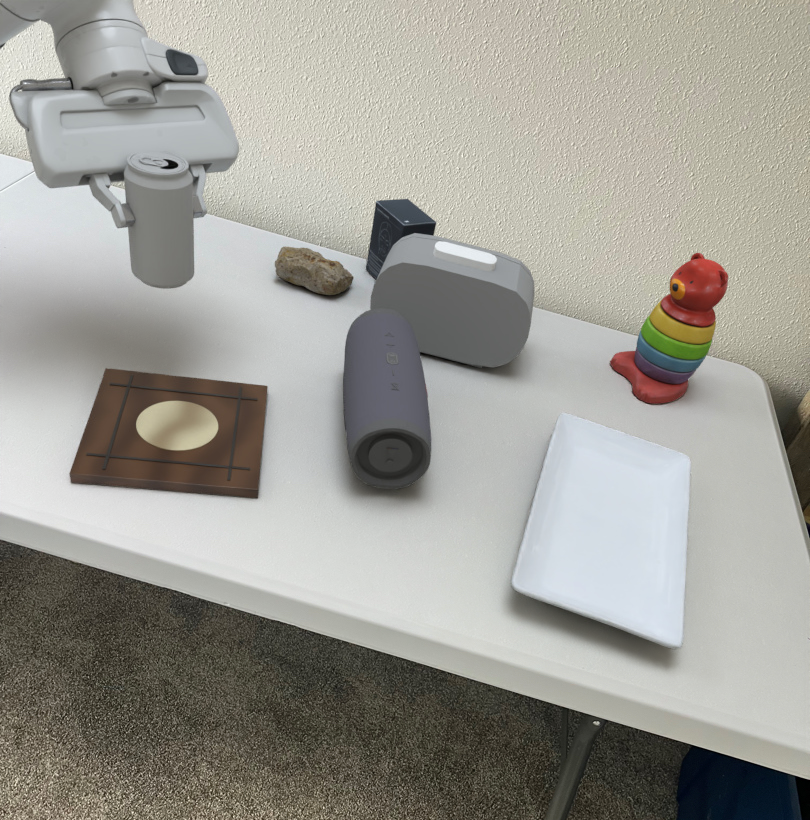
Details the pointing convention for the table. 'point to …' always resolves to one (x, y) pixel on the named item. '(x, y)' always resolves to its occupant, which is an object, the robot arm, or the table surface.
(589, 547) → the tray
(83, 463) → the board
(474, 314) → the grey rounded block
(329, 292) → the rock
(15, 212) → the table surface
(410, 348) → the bluetooth speaker
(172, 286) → the beverage can
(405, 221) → the box
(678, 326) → the stacking bear
